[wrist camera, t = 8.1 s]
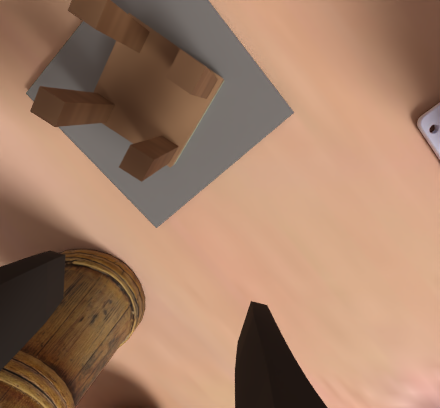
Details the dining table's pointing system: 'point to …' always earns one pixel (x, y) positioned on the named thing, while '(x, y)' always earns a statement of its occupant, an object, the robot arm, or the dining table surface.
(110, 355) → the wooden mug
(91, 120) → the stool
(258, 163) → the dining table surface
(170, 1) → the mat
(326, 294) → the dining table surface
